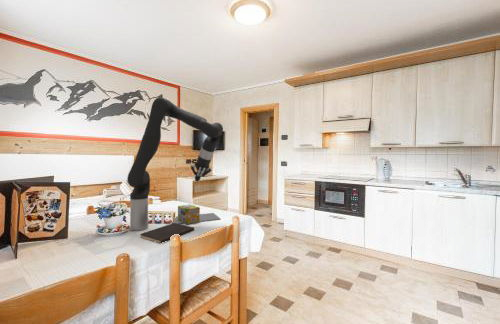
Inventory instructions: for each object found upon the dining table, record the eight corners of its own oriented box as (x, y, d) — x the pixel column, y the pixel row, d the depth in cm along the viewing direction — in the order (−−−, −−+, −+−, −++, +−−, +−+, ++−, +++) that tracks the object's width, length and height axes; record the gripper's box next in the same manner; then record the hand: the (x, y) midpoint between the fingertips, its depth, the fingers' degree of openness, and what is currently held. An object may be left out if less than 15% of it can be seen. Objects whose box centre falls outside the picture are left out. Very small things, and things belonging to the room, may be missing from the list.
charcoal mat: (172, 225, 146) (172, 224, 146) (169, 218, 160) (169, 217, 160) (220, 219, 158) (220, 218, 158) (213, 213, 173) (213, 212, 173)
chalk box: (187, 209, 145) (174, 204, 156) (186, 224, 145) (174, 219, 156) (200, 207, 152) (187, 202, 162) (200, 221, 152) (187, 216, 162)
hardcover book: (139, 238, 125) (139, 234, 125) (174, 226, 145) (174, 222, 144) (160, 245, 117) (160, 240, 117) (194, 231, 137) (194, 227, 136)
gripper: (214, 154, 144) (205, 178, 151) (193, 150, 138) (184, 175, 145) (217, 161, 139) (208, 185, 145) (195, 157, 132) (186, 182, 139)
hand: (196, 180), depth 145 cm, fingers closed
